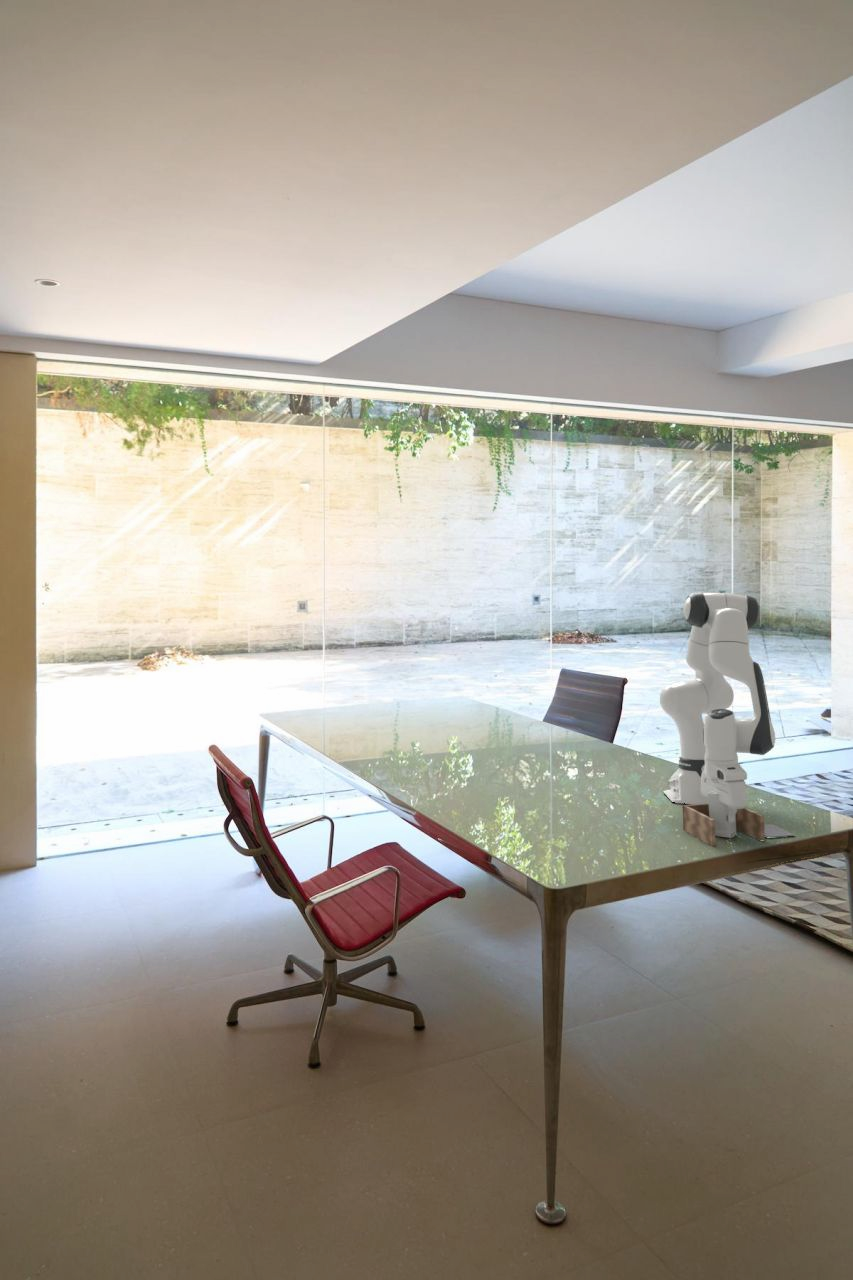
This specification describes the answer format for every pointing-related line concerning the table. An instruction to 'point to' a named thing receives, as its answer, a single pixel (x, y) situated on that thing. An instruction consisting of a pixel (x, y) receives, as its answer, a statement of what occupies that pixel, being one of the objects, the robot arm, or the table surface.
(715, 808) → the skincare box
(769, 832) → the charcoal mat
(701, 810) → the walnut u-shaped frame
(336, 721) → the table surface
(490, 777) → the table surface
